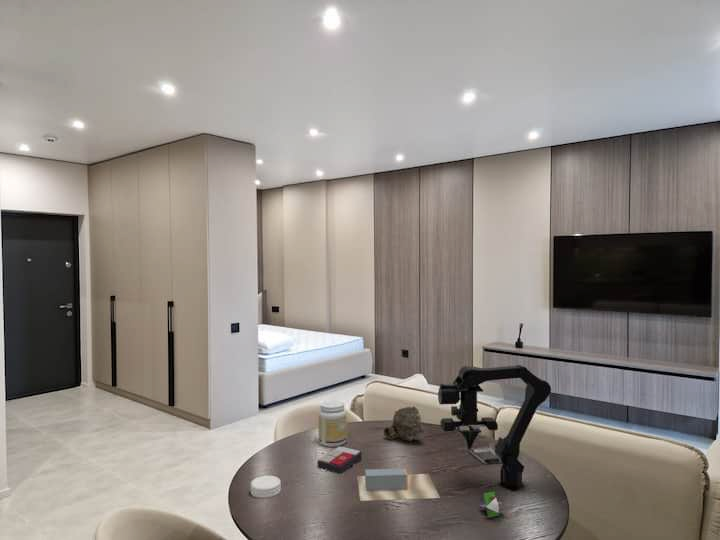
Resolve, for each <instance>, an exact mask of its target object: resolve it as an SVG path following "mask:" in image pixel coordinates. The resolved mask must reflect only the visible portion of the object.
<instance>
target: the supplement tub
mask: <svg viewBox="0 0 720 540" xmlns="http://www.w3.org/2000/svg"><path fill="white" fill-rule="evenodd" d="M319 409H320V410H318V443H319V444H320V445H321V446H324V447H329V448H335V447H336V448H337V447H339V446H341V447H342V446H343V445H345V444H346V442H347V410H346V409H345V403H344V402H342V401H339V400H326V401H323V402H321V403H320V407H319Z"/></svg>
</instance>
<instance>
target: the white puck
mask: <svg viewBox="0 0 720 540" xmlns="http://www.w3.org/2000/svg"><path fill="white" fill-rule="evenodd" d="M281 484H282V483H281V479H280V478H279V477H277V476H275V475H262V476H258V477H256V478H254V479H253V480H252V481H251V482H250V493H251V496H252V497H254V498H258V499H267V498H272V497H275V496H277V495H278V494H279V493H280V492H281V488H282V487H281Z"/></svg>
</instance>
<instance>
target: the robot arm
mask: <svg viewBox="0 0 720 540" xmlns="http://www.w3.org/2000/svg"><path fill="white" fill-rule="evenodd" d="M509 379H510V380H511V379H512V380H513V379H520V380H521V381H522V382H523V383H524V384H526V387H525V392H524V401H523V402H522V404H521V407H520V408H519V410H518V413H517V414H516V417H515V418H514V420H513V423H512V425H511V427H510V428H509V432H508V433H507V435H506V436H505V437H504V438H502V437H501V436H499V437H498V439H497V443H496V444H495V445H494V446H493V448H494V450H495V455H496V456H495V455H494V456H495V458H498V459H499V460H500V462H501V463H500V464H502V465H501V466H500V472H499V473H500V474H499V475H500V476H499V479H500V482H498V485H499V486H501V487H504V488H506V489H509V490H511V491H513V492H515V491H517V490H519V489H521V488H524V487H525V483H523V473H524V470H525V466H524V465H523V463H521V461H520V460H519V456H520V449H521V442H522V439H523V438H524V436H525V433H526V432H527V430H528V428H529V425H530V423H531V421H532V419H533V417H534V416H535V413H536V411H537V409H538V407H539V406H540V405H541V404H543V403H544V402H545V401H546V400H547V398H549V396H550V395H551V393H552V387H551V385H550V384H549V382H548V381H546V380H544V379H542V378H540V377H538V376H536V375H535V374H533V372H531V371H530V370H529V369H528V368H527V367H526V366H524V365H522V364H516V365H509V366H507V365H506V366H497V367H496V366H495V367H486V368H484V367H477V366H471V365H470V366H468V365H465V366H462V367H461V368H460V369H459V371H458V375H457V376H456V378H455V379H454V381H453V382H452V384H446V383H445V384H444V383H440V384H439V387H438V392H437V399H438V404H439V405H451V408H450V411H451V412H450V413H451V416H454V417H456V419H458V420H456V421H455V420H454V419H453V417H450V418H447V417H446V418H441V420H440V427H441V429H442V430H443V431H444V432H455V431H456V429H457V431H458V432H459V433H460V434H462V437H463V439H464V442H465V445H466V448H467V450H469V449H472V448H473V447H472V446H473V445H474V442H475V441H476V438H477V437H478V435H479V434H481V433H482V430H481V428H482V427H486V428H487V430H488V431H498V429H499V428H498V427H499V426H498V422H497V421H496V420H495V419H494V418H493V417H491V416H490V417H489V416H488V417H481V418H480V419H481V420H478V413H479V408H478V392H480V393H482V392H484V389H483V388H481V386H480V385H481V384H483V383H485V382H488V381H499V380H509ZM458 403H460V404H459V408H458V406H457V404H458ZM452 405H455V406H452Z"/></svg>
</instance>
